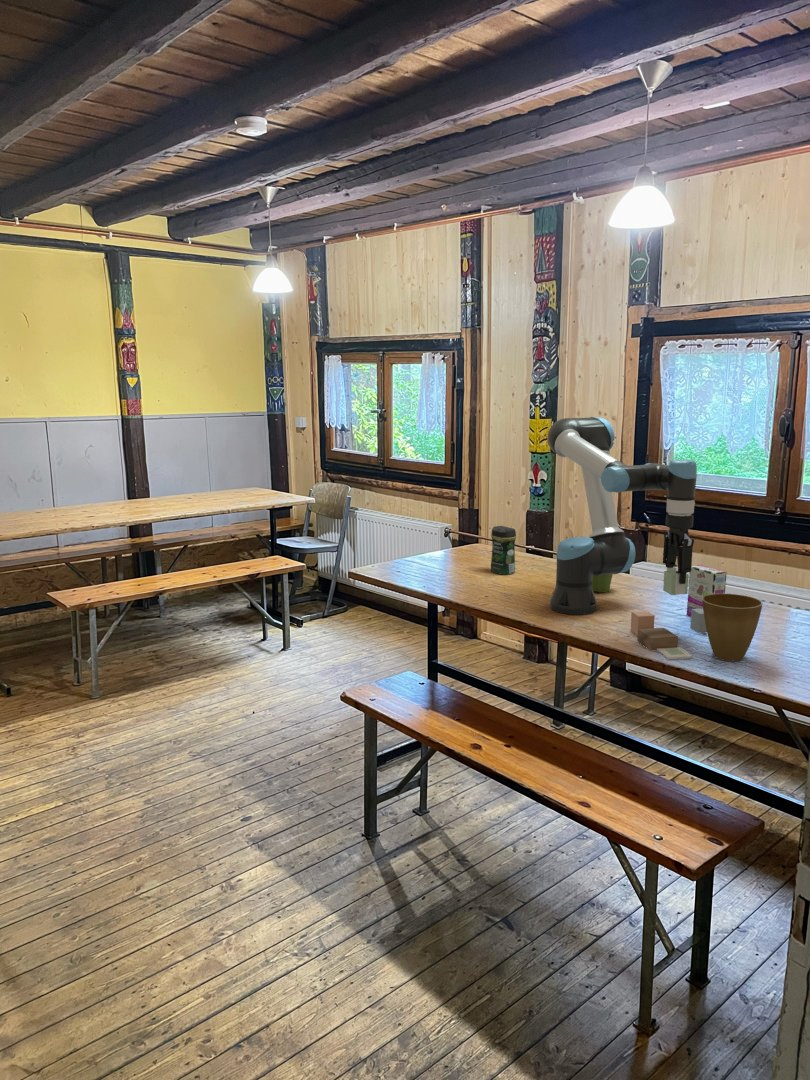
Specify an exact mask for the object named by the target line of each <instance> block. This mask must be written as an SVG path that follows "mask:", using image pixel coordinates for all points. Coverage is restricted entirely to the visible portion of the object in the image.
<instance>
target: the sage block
mask: <svg viewBox="0 0 810 1080" xmlns="http://www.w3.org/2000/svg"><path fill="white" fill-rule="evenodd" d="M676 571H678V569H676ZM676 571H667V570H664V572H663V587H662V591H664V592H665V593H667V594H669V595H672V596H674V595H675V596H676V594H675V583H676ZM689 574H690V573H688V572H687V573H686V583H685V594H684V595H688V588H689ZM679 595H681V594H679Z"/></svg>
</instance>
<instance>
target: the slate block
mask: <svg viewBox="0 0 810 1080" xmlns="http://www.w3.org/2000/svg"><path fill="white" fill-rule="evenodd" d="M689 627H690V629H691V628H692V629H691V630H693V631H695V632H697V634H703V633H704V632H707V630H706V625H705V619H704V612H703V609H692V610H691V617H690V626H689ZM704 634H705V633H704Z"/></svg>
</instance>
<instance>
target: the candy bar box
mask: <svg viewBox="0 0 810 1080" xmlns="http://www.w3.org/2000/svg"><path fill="white" fill-rule="evenodd" d="M688 574H689V577H688V592H687V603H686V604H687V605H686V616H687V615H688V617H690V618H691V610H692V609H703V602H702V598H703V597H704V596H706V595H710V594H726V585H727V584H726V583H727V571H723V570H720V569H716V568H714V567H708V566H706V565H702V564H700V565H699V564H698V565H692V567H691V572H689V573H688Z"/></svg>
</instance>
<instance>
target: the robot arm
mask: <svg viewBox="0 0 810 1080" xmlns="http://www.w3.org/2000/svg"><path fill="white" fill-rule="evenodd" d="M615 438H616V435H615V430H614V428H613V426H612V424H611V423H610V421H608V420H606V419H605V418H603V417H595V416H591V417H566V418H565V417H564V418H560V419H558V420H557V421H555V422H554V423H552V425H551V426H550V427H549V430H548V432H547V445H548V446H549V448H550V449H551V451H553V453H555V454H556V455H557V456H559V457H561V458H568V459H569V460H571V461H573V462H574V463H575V464H577V465H579V466H580V468H581V471H582V472H581V473H582V478H583V483H584V489H585V495H586V501H587V502H586V503H587V508H588V512H589V517H590V525H591V530H592V531H591V533H590V535H589V536H574V537H568V538H564V539H562V540H561V541H560V542H559V543H558V545H557V550H556V554H555V555H556V577H555V579H556V580H555V587H554V588H553V592H552V596H551V597H550V600H549V608H550V609H551V611H554V612H557V613H560V614H566V615H574V616H575V615H577V616H578V615H579V616H581V615H588V614H593V613H595V612H596V611H597V607H598V605H597V604H598V603H597V600H596V596H595V593H594V592H595V591H593V589H592V576H600V575H609V574H613V575H619V574H622V573H627V572H628V571H629V570H630V569H631V568H632V566H633V564H634V563H635V560H636V547H635V544H634V542H632V540H631V539H630V538H628V537H626V534H625V531H624V530H623V529H621V528H620V527H619V521H618V517H617V511H616V505H615V499H614V494H613V493H624V492H625V493H626V492H627V493H628V492H635V491H636V492H638V491H639V492H640V491H659V490H660V491H666V492H667V497H666V515H665V527H667V528H668V530H664V531H663V539H664V541H663V551H662V553H663V554H662V564H663V565H665V567H666V571H676V570H678V571H676V583H675V594H676V595H679V594H680V595H686V594H685V583H686V573H687V574H688V573H690V572H691V567H692V566H693V565H692V562H693V547H694V543H695V539H694V538H690V536H689V529H692V528H693V527H694V517H695V516H694V515H693V514H694V513H695V505H696V502H695V500H696V488H697V487H696V486H697V477H698V474H697V468H698V467H697V466H698V465H697V462H696V461H695V460H692V459H672V460H670V461H669V464H667V465H666V464H661V463H658V462H657V463H656V462H654V463H652V462H648V463H645V464H640V465H639V464H637V465H627V464H625V463H623V462H621V461H620V460H618V459H616V458H615V457H613V456H611V455H610V454H611V451H610V450H611V449H613V447H614V444H615V442H614V441H615ZM676 562H677V564H676ZM676 595H675V596H676Z"/></svg>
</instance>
